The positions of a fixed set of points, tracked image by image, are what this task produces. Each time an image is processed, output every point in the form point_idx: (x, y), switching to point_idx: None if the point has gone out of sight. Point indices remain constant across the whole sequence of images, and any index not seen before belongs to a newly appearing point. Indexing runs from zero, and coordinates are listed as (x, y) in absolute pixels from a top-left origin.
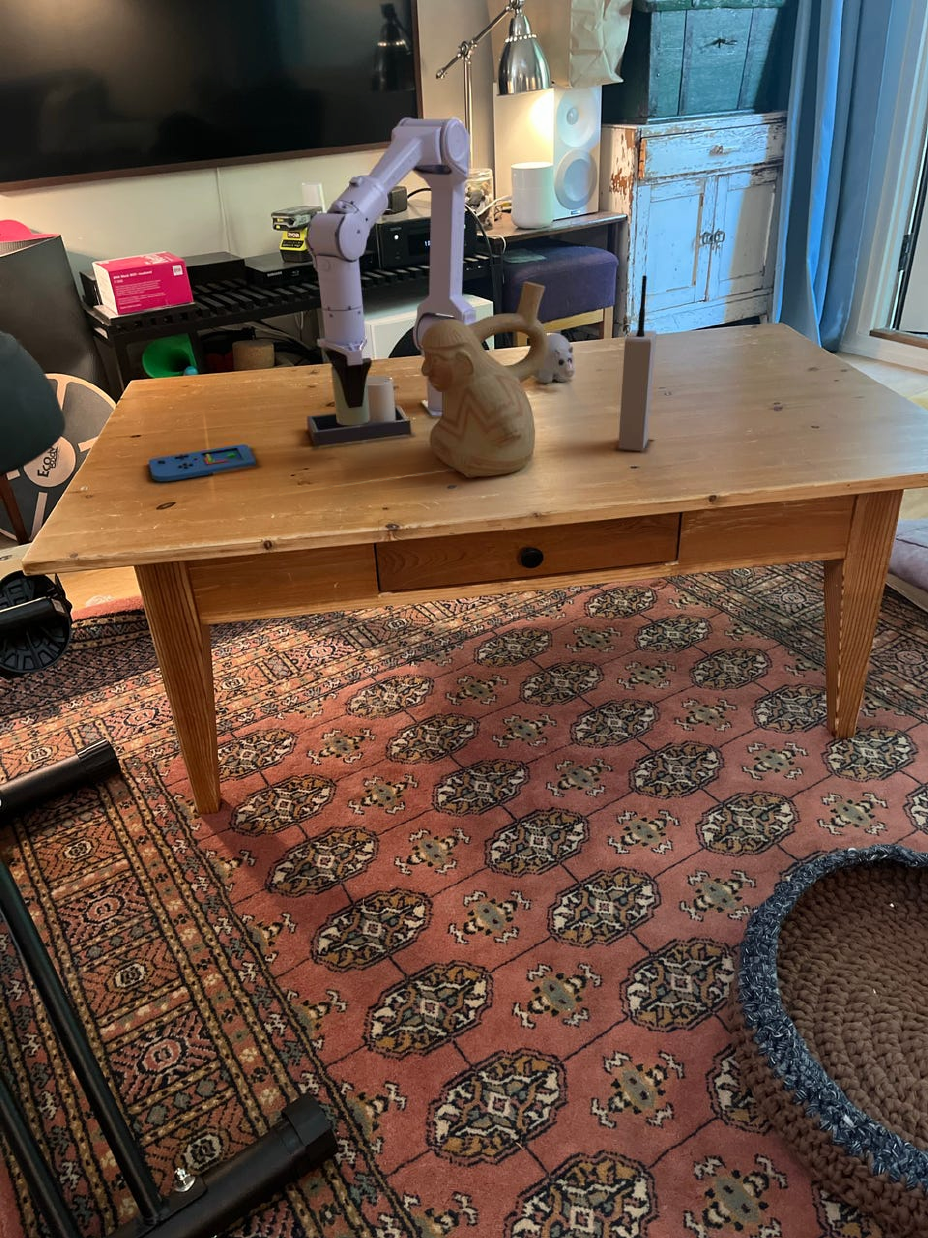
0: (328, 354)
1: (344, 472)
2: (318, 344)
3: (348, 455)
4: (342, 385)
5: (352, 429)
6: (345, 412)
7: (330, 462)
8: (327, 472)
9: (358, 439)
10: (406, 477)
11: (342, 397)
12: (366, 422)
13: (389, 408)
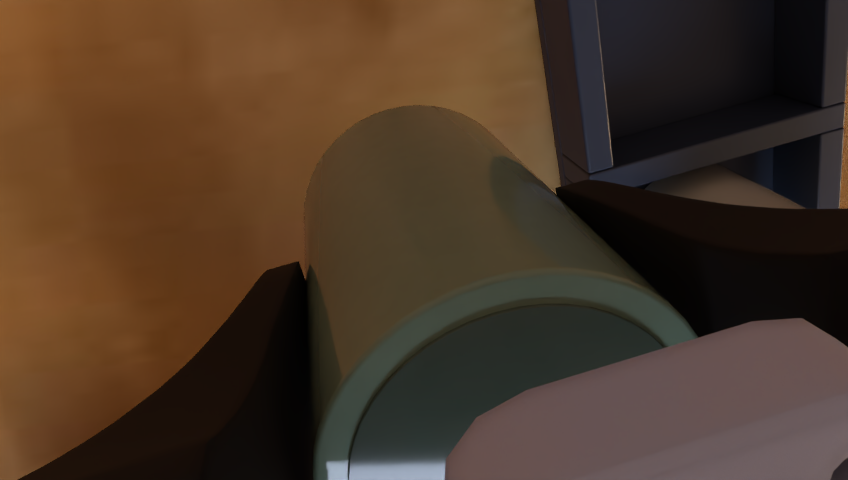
0: (812, 282)
1: (173, 99)
2: (542, 422)
3: (406, 98)
4: (183, 368)
5: (578, 133)
6: (310, 217)
7: (317, 9)
8: (172, 5)
9: (559, 142)
10: (119, 377)
11: (317, 255)
12: (687, 188)
13: None
